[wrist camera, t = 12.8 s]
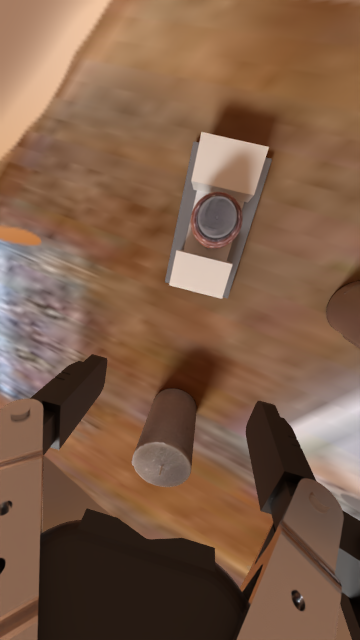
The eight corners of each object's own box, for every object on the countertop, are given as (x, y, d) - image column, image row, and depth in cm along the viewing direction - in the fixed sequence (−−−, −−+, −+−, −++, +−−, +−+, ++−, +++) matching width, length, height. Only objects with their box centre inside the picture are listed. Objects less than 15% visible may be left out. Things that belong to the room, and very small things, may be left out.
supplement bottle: (233, 248, 33) (245, 248, 22) (194, 249, 33) (188, 250, 23) (235, 204, 31) (249, 182, 20) (194, 206, 31) (187, 186, 21)
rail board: (226, 296, 37) (230, 306, 31) (166, 280, 38) (158, 287, 31) (269, 162, 30) (284, 142, 24) (194, 146, 31) (190, 121, 25)
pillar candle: (199, 422, 47) (195, 497, 33) (157, 424, 49) (136, 496, 35) (192, 385, 44) (185, 449, 30) (148, 389, 46) (121, 450, 32)
